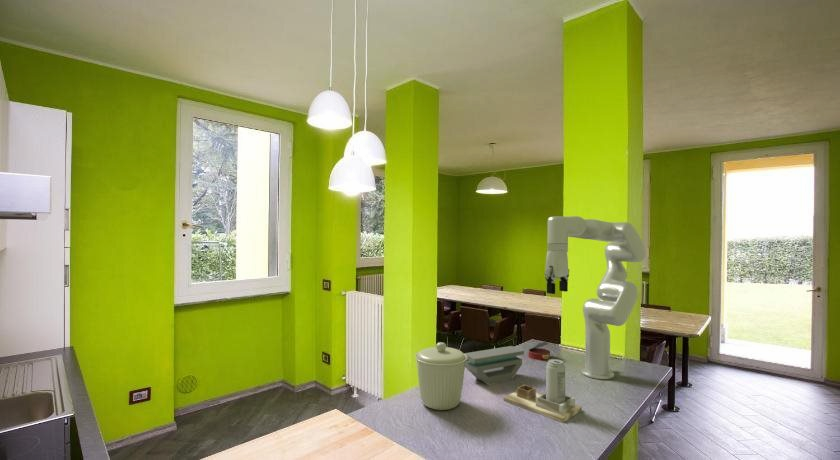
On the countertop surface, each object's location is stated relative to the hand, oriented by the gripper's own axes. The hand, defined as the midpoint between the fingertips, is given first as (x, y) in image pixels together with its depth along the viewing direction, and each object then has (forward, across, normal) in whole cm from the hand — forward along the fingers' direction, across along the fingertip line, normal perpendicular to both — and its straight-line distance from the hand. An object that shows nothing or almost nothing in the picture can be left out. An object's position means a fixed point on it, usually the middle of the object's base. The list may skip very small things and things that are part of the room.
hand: (557, 292), depth 154 cm
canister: (+36, +45, -19) cm, 61 cm away
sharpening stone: (+36, +12, -21) cm, 44 cm away
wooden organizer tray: (+36, +20, +5) cm, 42 cm away
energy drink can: (+35, +20, +10) cm, 42 cm away
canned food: (+37, -28, -24) cm, 52 cm away
